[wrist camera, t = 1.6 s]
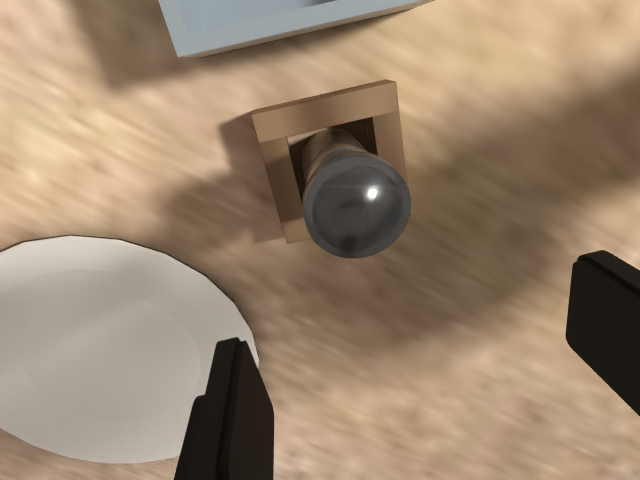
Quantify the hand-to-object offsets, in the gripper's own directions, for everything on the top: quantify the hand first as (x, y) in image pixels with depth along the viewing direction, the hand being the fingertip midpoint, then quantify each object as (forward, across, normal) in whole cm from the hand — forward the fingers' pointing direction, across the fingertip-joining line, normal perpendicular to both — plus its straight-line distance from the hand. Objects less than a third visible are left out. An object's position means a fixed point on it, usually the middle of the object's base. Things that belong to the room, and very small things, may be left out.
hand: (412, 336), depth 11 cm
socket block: (+18, 0, 0) cm, 19 cm away
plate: (+19, +22, +12) cm, 32 cm away
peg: (+18, 0, 0) cm, 19 cm away
